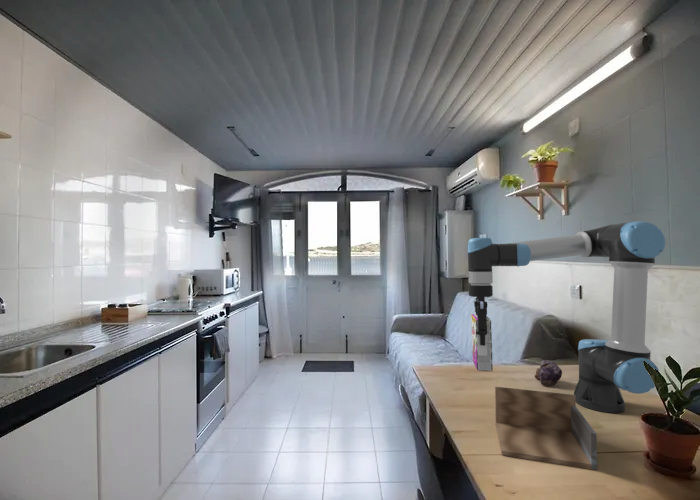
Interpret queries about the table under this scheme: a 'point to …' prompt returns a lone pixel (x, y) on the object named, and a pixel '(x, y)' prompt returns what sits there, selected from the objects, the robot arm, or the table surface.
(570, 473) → the table surface
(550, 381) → the rock
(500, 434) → the shelf
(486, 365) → the candy bar box
